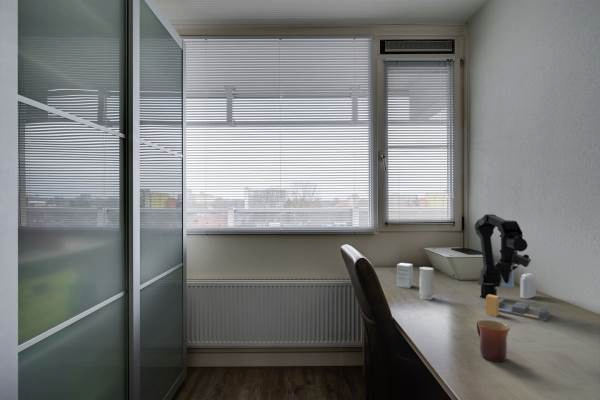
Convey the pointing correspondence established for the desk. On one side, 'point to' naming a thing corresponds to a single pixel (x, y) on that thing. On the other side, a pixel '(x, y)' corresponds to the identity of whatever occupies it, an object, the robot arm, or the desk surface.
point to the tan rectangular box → (492, 305)
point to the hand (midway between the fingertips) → (507, 282)
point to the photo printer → (527, 286)
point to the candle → (426, 283)
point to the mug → (493, 339)
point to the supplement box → (404, 275)
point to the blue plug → (510, 282)
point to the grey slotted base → (524, 310)
